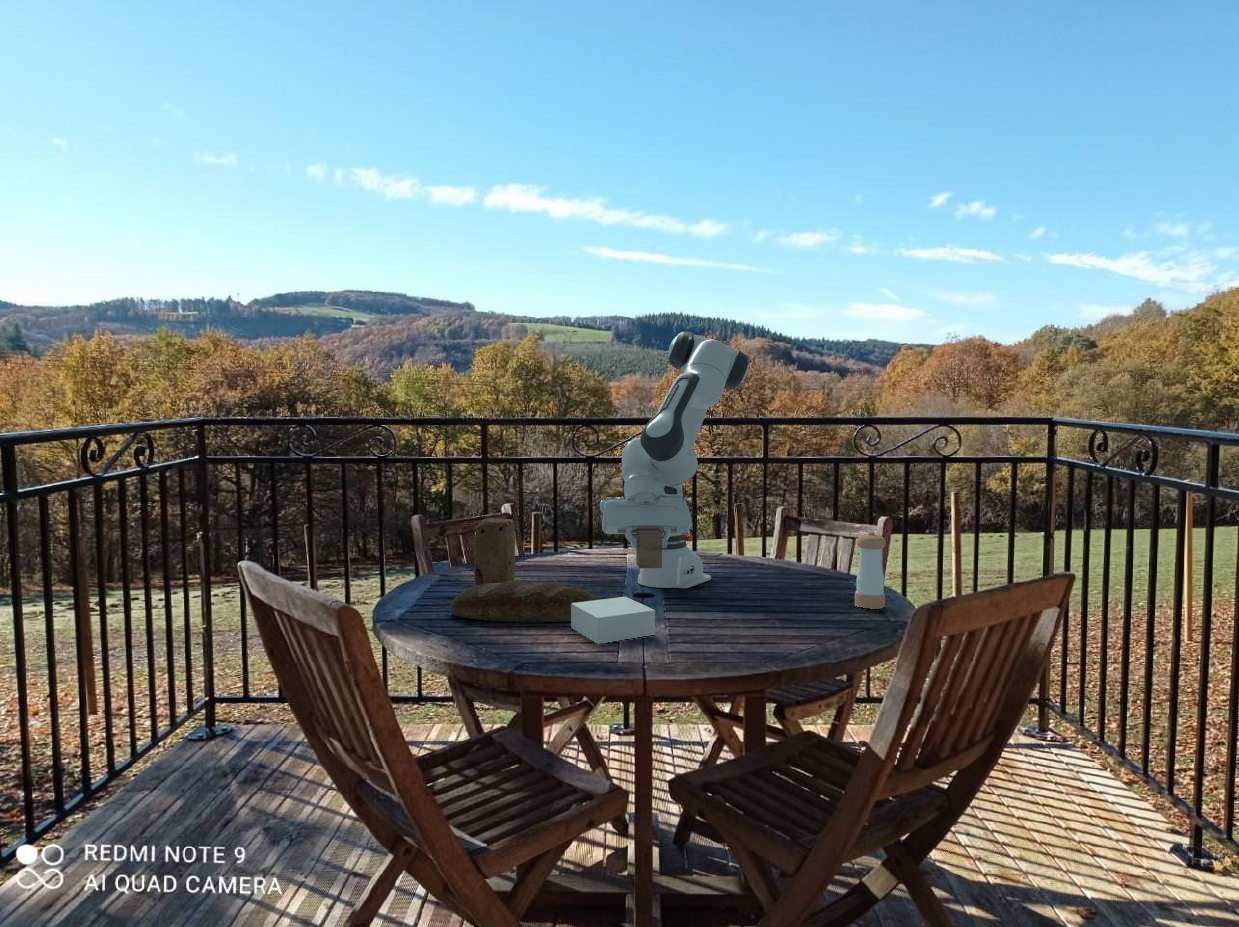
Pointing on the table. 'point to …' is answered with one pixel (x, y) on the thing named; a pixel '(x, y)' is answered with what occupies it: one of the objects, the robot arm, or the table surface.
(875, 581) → the pepper shaker
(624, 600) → the painted base block
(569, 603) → the bread
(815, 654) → the table surface
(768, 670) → the table surface
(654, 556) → the walnut block
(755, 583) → the table surface
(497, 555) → the block
